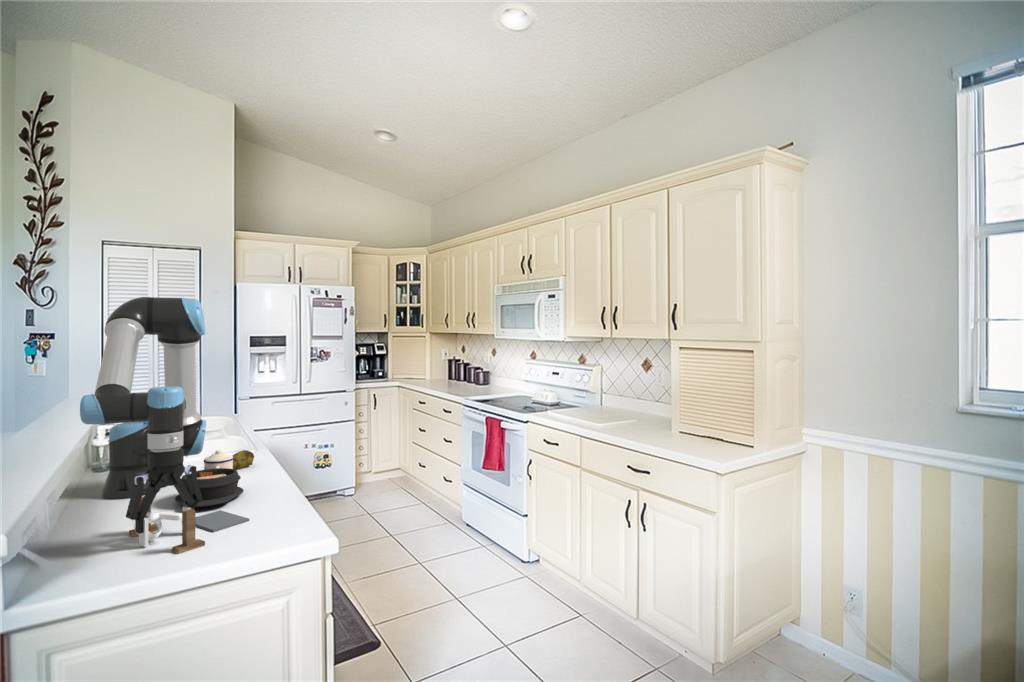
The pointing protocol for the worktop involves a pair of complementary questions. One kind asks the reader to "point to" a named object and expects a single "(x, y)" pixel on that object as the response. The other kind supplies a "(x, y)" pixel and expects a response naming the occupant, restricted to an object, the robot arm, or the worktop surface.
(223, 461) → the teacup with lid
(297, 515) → the worktop surface
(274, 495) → the worktop surface
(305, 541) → the worktop surface
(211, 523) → the mat
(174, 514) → the white vr controller
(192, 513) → the rack
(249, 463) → the potato
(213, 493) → the casserole
